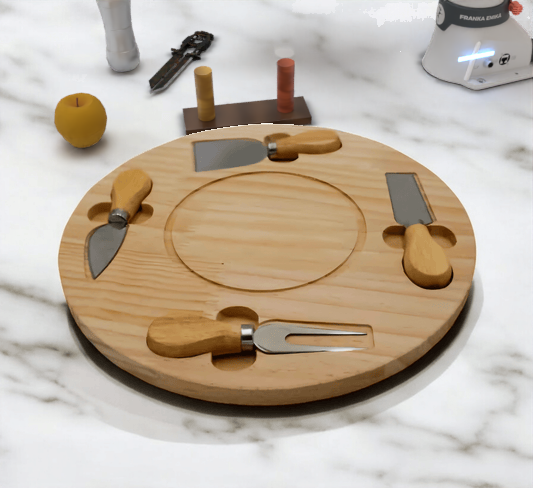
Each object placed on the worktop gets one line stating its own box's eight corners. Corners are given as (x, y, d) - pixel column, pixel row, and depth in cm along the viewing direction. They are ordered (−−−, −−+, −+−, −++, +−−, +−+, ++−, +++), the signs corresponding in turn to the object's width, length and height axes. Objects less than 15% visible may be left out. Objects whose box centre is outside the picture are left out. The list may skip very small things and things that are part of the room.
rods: (303, 103, 120) (304, 50, 112) (311, 124, 115) (313, 70, 107) (183, 115, 117) (177, 62, 110) (186, 137, 112) (180, 83, 105)
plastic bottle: (102, 72, 128) (81, -30, 115) (120, 56, 133) (102, -44, 119) (130, 78, 127) (112, -25, 113) (148, 62, 131) (132, -39, 117)
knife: (157, 98, 121) (156, 91, 120) (128, 90, 123) (127, 84, 122) (222, 40, 138) (221, 34, 137) (195, 34, 140) (194, 28, 139)
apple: (87, 164, 107) (75, 118, 101) (50, 148, 110) (36, 103, 104) (121, 138, 112) (112, 93, 106) (85, 124, 115) (74, 79, 109)
